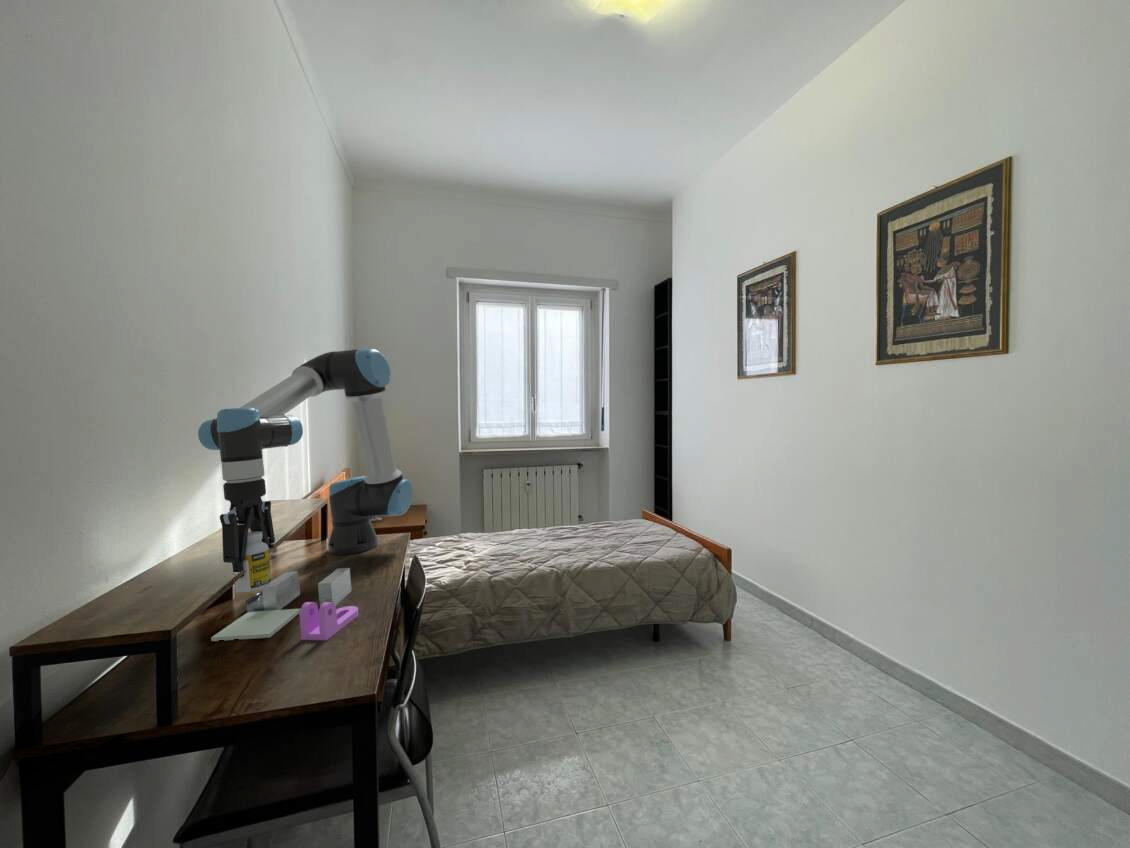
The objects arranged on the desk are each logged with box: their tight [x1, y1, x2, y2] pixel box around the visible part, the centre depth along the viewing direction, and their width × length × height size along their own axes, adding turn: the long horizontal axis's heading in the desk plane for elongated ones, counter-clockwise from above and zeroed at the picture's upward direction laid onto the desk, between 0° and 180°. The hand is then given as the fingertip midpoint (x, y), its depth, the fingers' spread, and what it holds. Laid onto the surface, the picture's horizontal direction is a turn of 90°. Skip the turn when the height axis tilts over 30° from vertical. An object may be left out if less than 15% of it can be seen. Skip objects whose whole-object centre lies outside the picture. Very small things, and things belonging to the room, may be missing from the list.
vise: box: [245, 567, 353, 613], centre depth 118 cm, size 10×21×6 cm, turn 90°
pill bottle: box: [245, 531, 272, 592], centre depth 106 cm, size 6×6×12 cm
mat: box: [210, 608, 301, 642], centre depth 107 cm, size 12×12×1 cm
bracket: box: [298, 601, 359, 641], centre depth 105 cm, size 13×6×7 cm, turn 171°
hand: (254, 584), depth 106 cm, fingers closed on pill bottle, 6 cm apart
